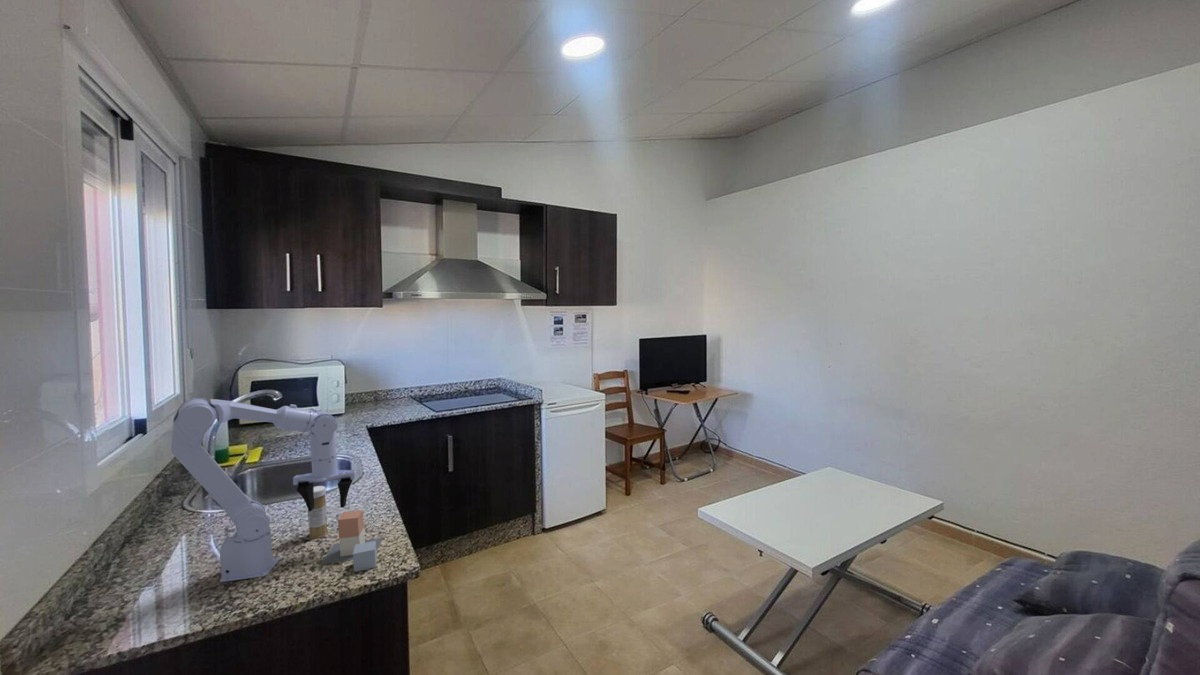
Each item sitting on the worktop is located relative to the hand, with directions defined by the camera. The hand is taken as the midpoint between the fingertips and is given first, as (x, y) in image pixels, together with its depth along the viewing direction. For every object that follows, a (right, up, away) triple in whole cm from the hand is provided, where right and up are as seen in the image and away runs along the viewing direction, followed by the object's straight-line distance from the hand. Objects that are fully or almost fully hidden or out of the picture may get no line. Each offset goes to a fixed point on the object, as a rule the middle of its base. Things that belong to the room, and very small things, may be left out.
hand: (327, 507), depth 122 cm
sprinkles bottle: (-6, -10, +6) cm, 14 cm away
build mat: (+8, -10, -3) cm, 13 cm away
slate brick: (+15, -11, -9) cm, 21 cm away
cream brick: (+8, -10, -3) cm, 13 cm away
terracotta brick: (+8, -5, -3) cm, 10 cm away
